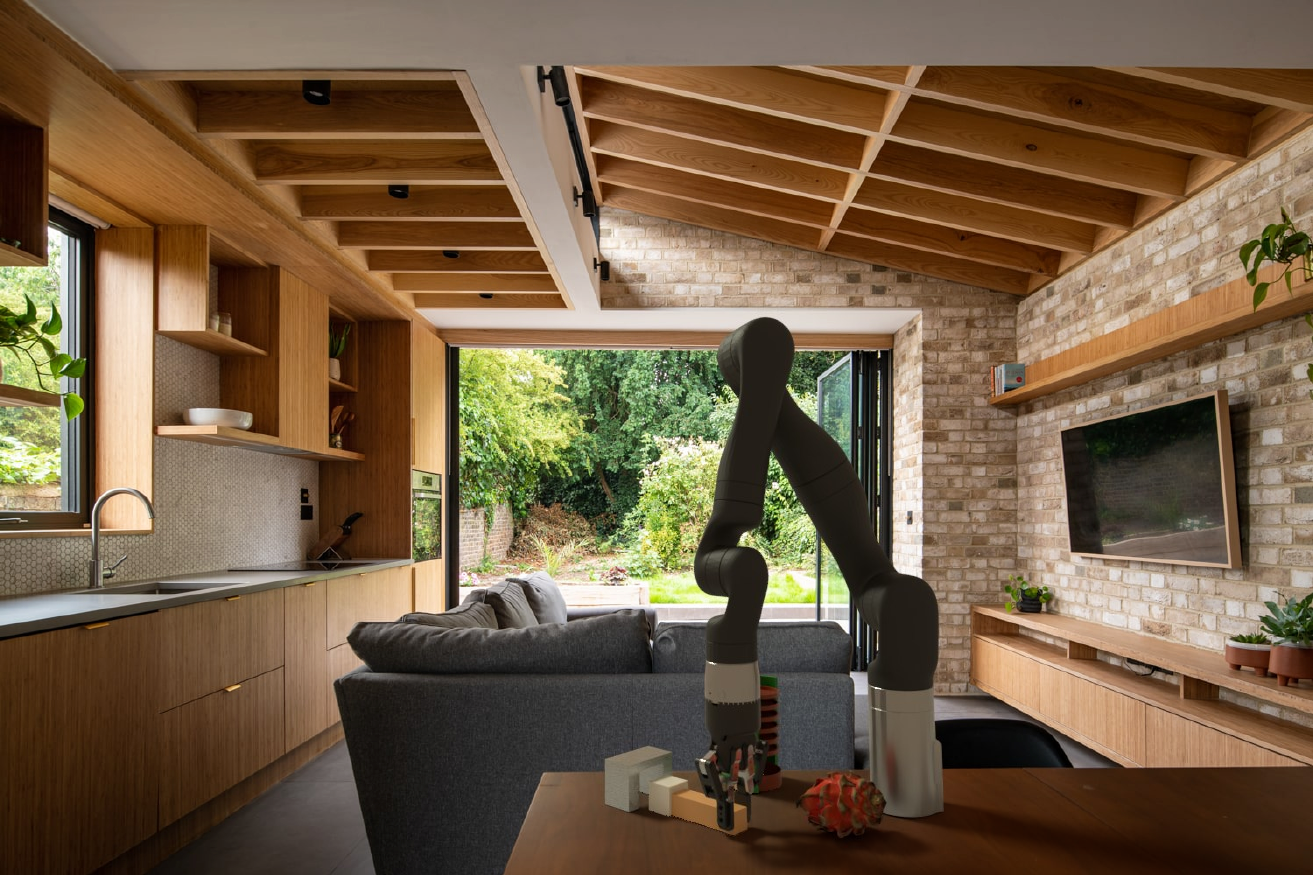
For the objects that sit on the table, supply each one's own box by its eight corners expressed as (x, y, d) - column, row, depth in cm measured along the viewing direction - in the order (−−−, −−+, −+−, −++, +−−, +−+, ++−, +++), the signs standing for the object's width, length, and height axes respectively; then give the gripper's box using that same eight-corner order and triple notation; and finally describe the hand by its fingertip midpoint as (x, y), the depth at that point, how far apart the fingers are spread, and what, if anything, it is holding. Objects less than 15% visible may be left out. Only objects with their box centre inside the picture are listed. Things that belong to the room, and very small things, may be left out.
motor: (779, 795, 128) (777, 659, 129) (720, 792, 129) (718, 658, 131) (783, 774, 138) (780, 648, 139) (728, 771, 139) (726, 647, 141)
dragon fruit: (896, 850, 111) (803, 858, 113) (884, 793, 118) (798, 801, 120) (889, 809, 107) (794, 818, 109) (878, 753, 114) (789, 762, 116)
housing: (672, 795, 128) (672, 751, 128) (629, 812, 121) (628, 765, 122) (648, 788, 131) (648, 745, 132) (604, 803, 125) (604, 758, 125)
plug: (749, 828, 115) (749, 798, 115) (731, 837, 112) (730, 805, 112) (667, 802, 125) (667, 774, 125) (648, 809, 122) (648, 781, 122)
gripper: (742, 681, 123) (744, 805, 122) (677, 698, 113) (678, 833, 112) (785, 689, 118) (787, 818, 117) (721, 707, 108) (723, 848, 106)
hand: (734, 824), depth 114 cm, fingers closed on plug, 3 cm apart
